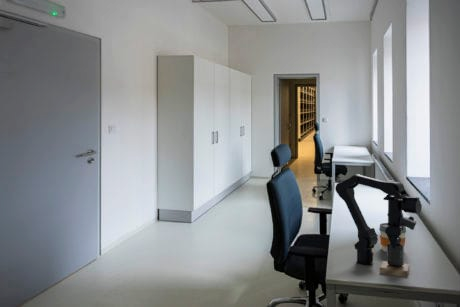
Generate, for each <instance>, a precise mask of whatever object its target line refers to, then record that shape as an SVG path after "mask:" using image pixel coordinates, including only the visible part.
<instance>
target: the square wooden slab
mask: <svg viewBox="0 0 460 307" xmlns="http://www.w3.org/2000/svg"><path fill="white" fill-rule="evenodd" d="M409 272H410V263H404V265H403V266H391V265H389V264H388V263H387V260H382V262H381V264H380V266H379V274H382V275H383V274H384V275H390V276H397V277H407V278H408V276H409Z"/></svg>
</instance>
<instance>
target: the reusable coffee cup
mask: <svg viewBox="0 0 460 307" xmlns="http://www.w3.org/2000/svg"><path fill="white" fill-rule="evenodd" d="M387 223H388V222H385V223H384V222H383V223H380V224H379V228H378V229H379V233H380V234H379V239H380V245H381V247H382V248H381V249H382V251H384V252H385V253H387V244H388V243H389V242H390V241H389V239H388V236H387V234H386V233H385V228H386V227H387V226H388V225H387ZM401 228H402V227H401ZM401 233H402V234H401V235H400V236H399V237H401V243H402V244H403V246H404V247H405V244H406V233H407V227H405V226H404V228H403V230H402V232H401Z"/></svg>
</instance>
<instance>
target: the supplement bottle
mask: <svg viewBox="0 0 460 307" xmlns="http://www.w3.org/2000/svg"><path fill="white" fill-rule="evenodd" d="M386 255H387V256H386V261H387V263H388V264H389V265H391V266H403V265H404V264H405V245H404V246H403V244H402V243H401V237H398V238H397V243H396V248H395V249H394V248H392V246H391V243H390V242H389V243H388V244H387V252H386Z"/></svg>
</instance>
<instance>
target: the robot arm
mask: <svg viewBox="0 0 460 307" xmlns="http://www.w3.org/2000/svg"><path fill="white" fill-rule="evenodd" d="M358 185H363V186H366V187H369V188H373V189H377V190H379V191H381V192H383V193H384V194H386V196H384V197H383V198H382V199H383V201H387V222H386V223H387V225H388V226H387V227H386V228H385V233H386V234H387V236H388V239H389V241H390V243H391V246H392V248H394V249H395V248H396V243H397V238H398V237H399V236H400V235H401V234H402V233H401V232H402V230H403V228H404V226H405V227H406V228H408V229H410V230H412V231H414V230H415V227H416V226H417V220H415V218H414V217H413V216H412V215H411V216H409V217H405V216H404V213H410V214H416V215H419V214H420V213H421V212H422V208H423V207H422V202H421V200H420V197H418V196H417V197H416V196H415V197H413V196H412V197H411V196H410V195H409V193H407V190H406V189H405V186H404V184H403V183H402V182H400V181H388V180H381V179H377V178H373V177H369V176H366V175H362V174H357V173H356V174H353V175H352V176H351V177H349V178H347V179H346V180H344V181H341V182H340V181H339V182H337V183H336V185H335V189H334V190H335V192H336V193H337V195H338V197H339V198H340V199H342V200H343V201H344V203H345V205H346V207H347V209H348V211H349V213H350V216H351V218H352V220H353V222H354V224H355V226H356V227H355V228H356V229H357V238H358V241H357V242H356V243H355V244H354V249H355V250H356V261H355V262H356V263H357V264H364V265H372V263H373V262H374V252H373V249H374V248H375V245H377V243H378V240H379V238H378V237H379V235H378V234H377V232H376V230H375V228H374V227H371V228H370V226H369V225H368V224H367V222H366V219H365V217H364V215H363V213H362V210H361V209H360V206H359V204H358V202H357V201H356V198H355V188H356V187H357V186H358ZM401 227H402V228H401Z"/></svg>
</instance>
